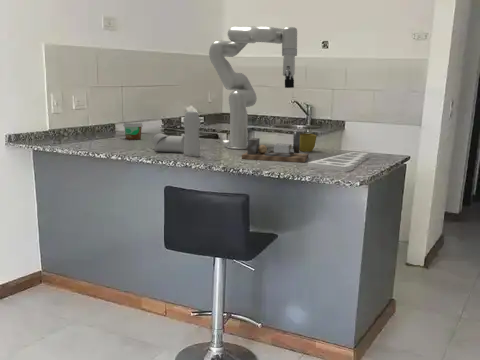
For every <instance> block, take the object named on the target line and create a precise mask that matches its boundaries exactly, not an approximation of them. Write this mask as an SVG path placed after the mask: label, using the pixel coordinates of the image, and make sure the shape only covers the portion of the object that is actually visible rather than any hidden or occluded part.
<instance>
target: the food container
mask: <svg viewBox="0 0 480 360" xmlns="http://www.w3.org/2000/svg"><path fill="white" fill-rule="evenodd" d="M122 127H123V128H124V134H125V136H124V137H125V140H127V141H128V140H129V141H138V140H142V129H143V128H142V127H143V123H141V122H140V123H139V122H138V123H132V122H131V123H127V122H123V125H122Z"/></svg>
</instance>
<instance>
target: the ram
mask: <svg viewBox="0 0 480 360" xmlns="http://www.w3.org/2000/svg"><path fill="white" fill-rule="evenodd" d="M300 134H301V131H293V139H292V140H293V144H292V143H280V142H279V143H275V144H274V145H273V150H274V153H290V152H293V153H295V154H300V150H299V147H300ZM292 146H293V147H292Z"/></svg>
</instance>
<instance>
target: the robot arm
mask: <svg viewBox="0 0 480 360" xmlns="http://www.w3.org/2000/svg"><path fill="white" fill-rule="evenodd" d="M227 38H228V40H222V39H221V40H215V41H214V42H213V43H211V45H210V47H209V50H208V56H209V61H210V63H211V64H212V66H213V68H214V69H215V71H216V73H217V75H218V77H219V79H220V81H221V83H222V85H223V87H224V88H225V89H226V90H227V91H231V92H230V94H229V95H228V104H229V105H228V106H229V139H223V140H222V144H225V145H227V146H226V148H227V149H233V150H246V149H247V146H248V126H249V125H248V124H249V123H248V121H249V119H248V111H247V108H248V107H249V108H250V107H253V106H254V105H256V102H257V99H258V98H257V93H256V91H255V89H254V88H253V85H252V84H251V81H250V80H249V79H248V77H247V75H246V74H244V73H243V72H236V71H235V70H234V68H232V64H231V63H230V62H229V61H228V60H227V58H234V57H236V56H237V55H239V53H240V52H241V51H242V50H243V49H244V48H245V47H246V46H247V45H248V44H255V43H265V44H277V45H278V44H281V57H283V61H282V64H283V65H282V75H283V76H284V88H285V89H287V88H288V89H289V88H290V89H293V88H295V78H294V77H295V73H296V71H295V70H296V57H297V56H298V28H296V27H294V26H288V27H284V28H279V27H273V26H271V27H270V26H254V25H253V26H249V25H248V26H246V25H243V26H242V25H236V26H235V25H234V26H231V27H230V28H229V29H228V30H227Z"/></svg>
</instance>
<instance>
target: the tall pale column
mask: <svg viewBox="0 0 480 360" xmlns="http://www.w3.org/2000/svg"><path fill="white" fill-rule="evenodd" d="M182 119H183V121H182V122H183V127H184V137H185V139H184V153H183V155H184V156H188V157H196V158H199V157H201V156H200V155H201V147H200V146H201V142H200V127H201V118H200V117H199V112H197V111H194V110H189V111H185V115H184V117H182Z"/></svg>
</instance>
